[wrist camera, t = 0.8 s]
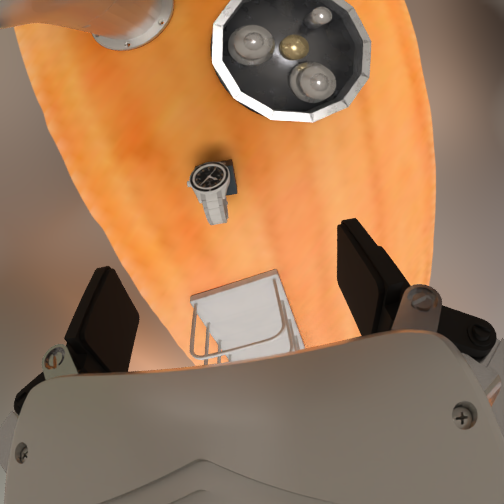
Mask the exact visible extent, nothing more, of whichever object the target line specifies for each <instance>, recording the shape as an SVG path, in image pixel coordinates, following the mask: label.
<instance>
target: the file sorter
mask: <svg viewBox="0 0 504 504" xmlns="http://www.w3.org/2000/svg"><path fill="white" fill-rule="evenodd" d="M190 303H191V305H192V306H193V308H194V311H193V320H192V329H191V339H190V353H191V355H192V356H193V357H194V358H196V359H198V360H204V365H208V359H209V358H214V357H218V361H217V364H218V363H221V356H222V355H226V356H227V358H228V359H229V362H232V361H239V360H245V359H252V358H258V357H264V356H270V355H275V354H281V353H286V352H291V351H296V350H301V349H305V346H304V343H303V341H302V338H301V335H300V333H299V330H298V327H297V324H296V322H295V319H294V316H293V313H292V310H291V308H290V305H289V302H288V299H287V296H286V294H285V291H284V288H283V285H282V283H281V280H280V277H279V274H278V272H277V270H276V269H274V270H271V271H268V272H265V273H262V274H259V275H256V276H253V277H250V278H247V279H244V280H241V281H238V282H234V283H231V284H228V285H225V286H222V287H219V288H216V289H213V290H209V291H206V292H203V293H200V294H196V295H193V296H191V297H190ZM197 314H198V316H199V317H200V319H201V320H202V322H203V323H204V325H205V326H206V328H207V329H206V343H205V355H204V356H198V355H196V354H195V353H194V336H195V325H196V316H197ZM209 332H210V334H211V335H212V337H213V338H214V339H215V341H216V342H217V344H218V352H216V353H212V354H208V347H209ZM221 349H222V351H221Z"/></svg>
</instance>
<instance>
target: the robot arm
mask: <svg viewBox="0 0 504 504" xmlns="http://www.w3.org/2000/svg"><path fill="white" fill-rule="evenodd" d="M173 10H174V0H0V29H4V28H10V27H15V26H19V25H24V24H30V23H45V24H53V25H58V26H62V27H67V28H72V29H76V30H80V31H84V32H88V33H92V35H93V37H94V39H95V40H96V41H97V42H98V43H99V44H100V45H101V46H103V47H105V48H108V49H111V50H118V51H126V50H132V49H136V48H139V47H141V46H144V45H145V44H147V43H149V42H151V41H152V40H153V39H155V38H156V37H157V36H158V35H159V34H160V33H161V32H162V31H163V30H164V29H165V27H166V26H167V25H168V23H169V21H170V19H171V17H172V14H173ZM161 22H164V24H162V25H161ZM99 35H100V36H99ZM128 44H130V46H129V47H128ZM337 281H338V285H339V287H340V289H341V291H342V293H343V295H344V298H345V300H346V302H347V304H348V306H349V308H350V311H351V313H352V315H353V317H354V320H355V322H356V324H357V326H358V329H359V331H360V333H361V335H362V336H360V337H355V338H351V339H347V340H343V341H338V342H334V343H329V344H325V345H320V346H315V347H311V348H306V349H301V350H296V351H291V352H286V353H281V354H275V355H270V356H264V357H258V358H252V359H245V360H239V361H232V362H225V363H218V364H210V365H202V366H193V367H183V368H174V369H161V370H150V371H135V372H134V371H133V372H128V368H129V363H130V359H131V354H132V349H133V345H134V340H135V336H136V332H137V328H138V324H139V314H138V312H137V310H136V308H135V306H134V305H133V303H132V301H131V299H130V298H129V296H128V294H127V292H126V290H125V288H124V287H123V285H122V283H121V281H120V279H119V277H118V275H117V273H116V271H115V270H114V269H111V268H110V267H109V266H106V267H101V268H97V269H96V270H95V272H94V274H93V276H92V278H91V280H90V282H89V284H88V286H87V288H86V290H85V292H84V294H83V296H82V299H81V301H80V303H79V305H78V307H77V310H76V312H75V314H74V316H73V319H72V321H71V323H70V325H69V328H68V330H67V333H66V335H65V338H64V339H65V340H66V341H67V345H66V346H65V345H63V344H58V345H55V346H53V347H51V348H50V349H49V350H48V351H47V352H46V354H45V355H44V357H43V359H42V369H43V372H42V373H41V374H40V375H38V376H37V377H36V378H35V379H34V380H32V381H31V382H30V383H29V384H28V385H27V386H25V388H23V389H22V390H21V391H20V392H19V393H18V394H17V395H16V398H15V401H14V410H15V412H13V411H11V412H10V414H9V415H8V417H7V418H6V420H5V421H4V423H3V424H2V426H1V427H0V464H1V466H2V468H3V469H4V471H5V472H6V474H7V475H6V483H5V498H4V504H504V339H503V338H502V339H501V341H500V340H498V339H497V338H496V332H495V330H494V328H493V327H492V325H491V324H490V323H488V322H487V321H485V320H483V319H480V318H477V317H475V316H472V315H469V314H465V313H463V312H460V311H457V310H454V309H451V308H448V307H445V306H443V305H442V299H441V296H440V294H439V293H438V292H437V291H436V290H435V289H433V288H432V287H430V286H427V285H422V284H417V285H412V286H410V284H409V283H408V281H407V280H406V279H405V277H404V276H403V274H402V273H401V272H400V270H399V269H398V267H397V266H396V265H395V263H394V262H393V261H392V259H391V258H390V257H389V255H388V254H387V253H386V251H385V250H384V249H383V248H382V247H381V246H377V244H376V243H375V242H374V240H373V239H372V238H371V237H370V235H369V234H368V233H367V231H366V230H365V229H364V228H363V226H362V225H361V224H360V223H359V221H358V220H357V219H356V218H353V219H347V220H342V222H341V224H340V225H338V226H337Z"/></svg>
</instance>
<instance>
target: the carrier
mask: <svg viewBox="0 0 504 504" xmlns="http://www.w3.org/2000/svg"><path fill="white" fill-rule="evenodd" d="M212 46H213V34H212V39H211V57H212ZM354 47H355V43H354V41H353V39H352V37H351V35H350V33H349V31H348V30H347V28H346V26H345V24H344V22H343V20H342V19H341V17H340V15H339V14H337V13H336V12H335V11H333V10H332V9H330V8H329V7H327V6H326V5H324V4H323V3H321V2H320V1H318V0H251V1H248V2H246V3H243V4H242V5H241V7H240V8H239V9H238V11H237V12H236V13H235V15H234V16H233V17H232V19H231V20H230V21H229V23H228V24H227V25H226V27H225V28H224V30H223V58H222V62H223V63H224V65H225V66H226V68H227V70H228V71H229V73H230V74H231V76H232V78H233V79H234V81H235V83H236V84H237V86H238V88H239V89H240V91H241V92H242V93H244V94H246V95H247V96H249V97H251V98H253V99H255V100H256V101H258V102H260V103H261V104H263V105H265V106H266V107H268V108H270V109H277V110H294V111H308V110H310V109H312V108H314V107H317V106H319V105H321V104H323V103H326V102H328V101H330V100H333V99H335V98H336V97H337V95H338V94H339V93H340V91H341V90H342V88H343V87H344V86H345V84H346V83H347V81H348V80H349V79H350V77H351V76H352V74H353V67H354ZM213 66H214V65H213ZM214 69H215V71H216V74H217V76H218V78H219V80H220V82H221V83H222V85H223V86H224V87H225V89H226V90H227V91H228V92H229V93H230V91H229V89H228V88H227V86H226V85H225V83H224V81H223V80H222V78H221V76H220V75H219V73H218V72H217V70H216V68H215V67H214ZM230 95H231V96H232V94H231V93H230ZM232 97H233V96H232ZM237 101H238V100H237ZM238 102H239V101H238ZM239 103H240V104H242V105H243V106H245V107H246V108H248V109H249V110H251V111H253V112H255V113H257V114H260V115H262V114H261V113H259V112H257V111H255V110H254V109H252V108H250V107H248V106H247V105H245V104H243V103H241V102H239ZM263 116H264V115H263ZM265 117H266V116H265Z"/></svg>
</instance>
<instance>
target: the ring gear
mask: <svg viewBox="0 0 504 504" xmlns="http://www.w3.org/2000/svg"><path fill="white" fill-rule="evenodd" d="M248 1H251V0H231V1H230V2H229V3H228V5H227V6H226V7H225V8H224V10H223V11H222V12H221V14H220V15H219V17H218V18H217V19H216V21H215V22H214V23H213V46H212V64H213V65H214V67H215V68H216V70H217V72H218V73H219V75H220V76H221V78H222V80H223V81H224V83H225V85H226V86H227V88H228V89H229V91H230V93H231V94H232V96H233V98H234V99H236V100H238V101H239V102H241V103H243V104H245V105H247V106H248V107H250V108H252V109H254V110H255V111H257V112H259V113H261V114H262V115H264V116H266V117H267V118H269V119H271V120H284V121H300V122H315V121H317V120H320V119H322V118H324V117H326V116H329V115H331V114H333V113H335V112H338V111H340V110H342V109H345V108H347V107H349V105H350V104H351V102H352V101H353V100H354V98H355V97H356V95H357V94H358V93H359V91H360V90H361V88H362V87H363V86H364V84H365V83H366V81H367V80H368V79H369V75H370V58H371V40H370V38H369V36H368V34H367V32H366V30H365V28H364V26H363V24H362V22H361V20H360V18H359V17H358V15H357V13H356V11H355V9H354V8H353V7H352V6H351V5H350V4H348V3H347V2H345V1H344V0H318V1H320V2H321V3H323V4H324V5H326V6H327V7H329V8H330V9H332V10H333V11H335V12H336V13H337V14H339V15H340V17H341V19H342V20H343V22H344V24H345V26H346V28H347V30H348V31H349V33H350V35H351V37H352V39H353V41H354V43H355V47H354V67H353V74H352V76H351V77H350V79H349V80H348V81H347V83H346V84H345V86H344V87H343V88H342V90H341V91H340V93H339V94H338V95H337V97H336V98H335V99H333V100H330V101H328V102H326V103H323V104H321V105H319V106H317V107H314V108H312V109H310V110H308V111H294V110H277V109H270V108H268V107H266V106H265V105H263V104H261V103H260V102H258V101H256V100H255V99H253V98H251V97H249V96H247V95H246V94H244V93H242V92H241V91H240V89H239V88H238V86H237V84H236V83H235V81H234V79H233V78H232V76H231V74H230V73H229V71H228V70H227V68H226V66H225V65H224V63H223V62H222V58H223V30H224V28H225V27H226V25H227V24H228V23H229V21H230V20H231V19H232V17H233V16H234V15H235V13H236V12H237V11H238V9H239V8H240V7H241V5H242V4H243V3H246V2H248Z"/></svg>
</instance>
